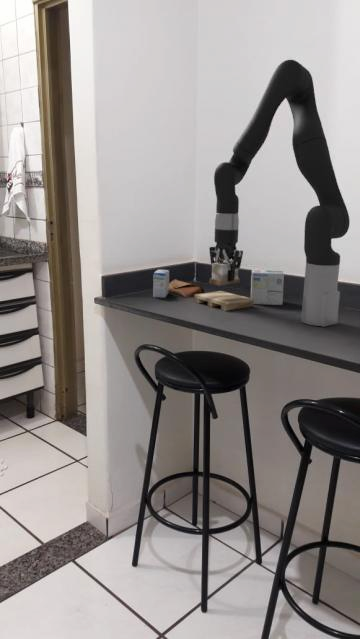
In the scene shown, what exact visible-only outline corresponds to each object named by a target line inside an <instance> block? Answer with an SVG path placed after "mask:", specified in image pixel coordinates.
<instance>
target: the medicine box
mask: <svg viewBox="0 0 360 639" xmlns="http://www.w3.org/2000/svg"><path fill="white" fill-rule="evenodd" d="M152 275H153V276H152V282H153V284H152V286H153V287H152V288H153V289H152V297H153V298H164V299H165V298H166V297H167V296H168V294H169V283H170V270H169V269H157V270H155V271H154V273H153V274H152Z"/></svg>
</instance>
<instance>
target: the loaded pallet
mask: <svg viewBox="0 0 360 639" xmlns="http://www.w3.org/2000/svg"><path fill="white" fill-rule="evenodd" d="M236 265H237V263H236ZM231 266H232V264H231ZM227 279H228V265H227V264H226V262H225V261H224V262H219V263H212V265H211V278H208V280H209V281H208V283H209V284H210V285H216V286H228V285H234V284H235V285H236V284H240V282H241V278H239V269H236V270H235V279H234V281H232V282H228V280H227Z"/></svg>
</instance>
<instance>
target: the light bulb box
mask: <svg viewBox="0 0 360 639" xmlns="http://www.w3.org/2000/svg"><path fill="white" fill-rule="evenodd" d="M284 279H285V273H284V271H283V270H269V269H268V270H267V269H265V270H264V269H262V270H261V269H259V270H258V269H252V270H251V278H250V298H252V299H254V302H253V304H252V305H273V306H275V305H276V306H282V305H283V300H284V298H283V297H284V283H285V282H284V281H285V280H284Z"/></svg>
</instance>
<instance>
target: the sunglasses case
mask: <svg viewBox="0 0 360 639" xmlns="http://www.w3.org/2000/svg"><path fill="white" fill-rule="evenodd" d="M169 293H170V294H173V295H176V296H180V297H183V298H187V299H188V298H194V295H195V294H202V293H206V291H205V289H204V288H203V287H202V286H201V285H199V284H193V283H190V282H186V281H182V280H178V279H176V278H173V280H172V281H169ZM169 293H168V294H169Z"/></svg>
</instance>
